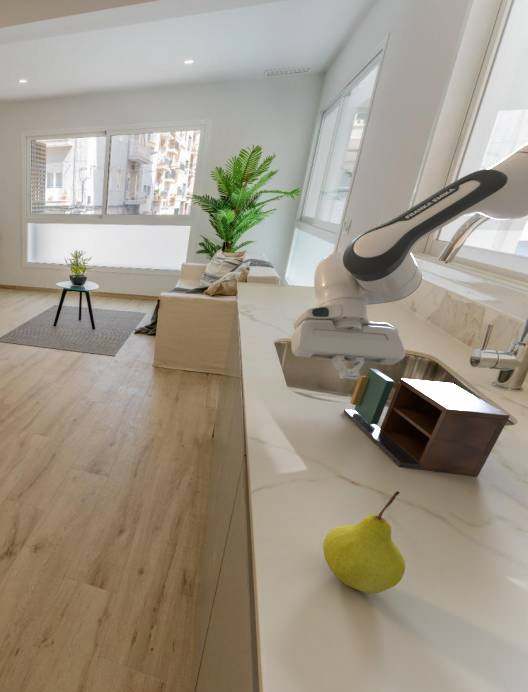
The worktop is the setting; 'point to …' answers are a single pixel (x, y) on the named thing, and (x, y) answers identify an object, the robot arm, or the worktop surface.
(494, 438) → the cabinet
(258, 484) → the worktop surface
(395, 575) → the fruit
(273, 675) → the worktop surface
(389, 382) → the sliding door
